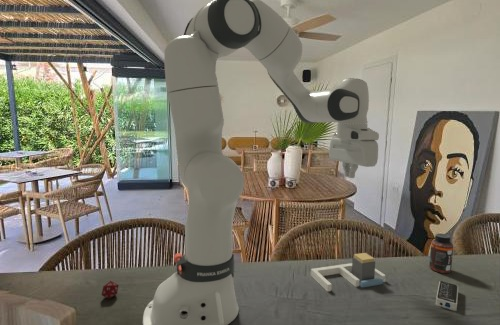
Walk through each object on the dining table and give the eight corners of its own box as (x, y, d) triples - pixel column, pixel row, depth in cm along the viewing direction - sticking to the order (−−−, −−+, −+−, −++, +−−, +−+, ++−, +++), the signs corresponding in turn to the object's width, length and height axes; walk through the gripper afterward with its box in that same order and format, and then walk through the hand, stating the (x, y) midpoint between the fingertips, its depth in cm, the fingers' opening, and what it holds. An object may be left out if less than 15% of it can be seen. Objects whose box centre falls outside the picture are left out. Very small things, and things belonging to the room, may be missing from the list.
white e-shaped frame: (329, 293, 81) (329, 286, 81) (310, 275, 91) (310, 268, 91) (387, 283, 87) (387, 276, 87) (364, 267, 97) (364, 261, 96)
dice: (100, 302, 76) (99, 288, 76) (105, 293, 80) (104, 279, 80) (116, 301, 77) (115, 286, 76) (120, 291, 81) (119, 277, 81)
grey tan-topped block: (361, 283, 87) (362, 260, 86) (351, 276, 91) (352, 254, 90) (374, 281, 88) (375, 258, 87) (364, 274, 92) (365, 252, 91)
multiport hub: (457, 293, 83) (458, 285, 83) (456, 312, 74) (457, 304, 74) (438, 287, 85) (439, 280, 85) (435, 306, 77) (436, 297, 76)
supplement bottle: (454, 275, 92) (458, 239, 91) (433, 273, 93) (436, 238, 92) (446, 266, 98) (449, 232, 97) (426, 264, 99) (428, 231, 98)
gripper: (325, 132, 102) (323, 172, 103) (364, 134, 82) (361, 183, 84) (341, 132, 104) (339, 171, 105) (383, 134, 84) (380, 182, 86)
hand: (349, 177), depth 94 cm, fingers closed
